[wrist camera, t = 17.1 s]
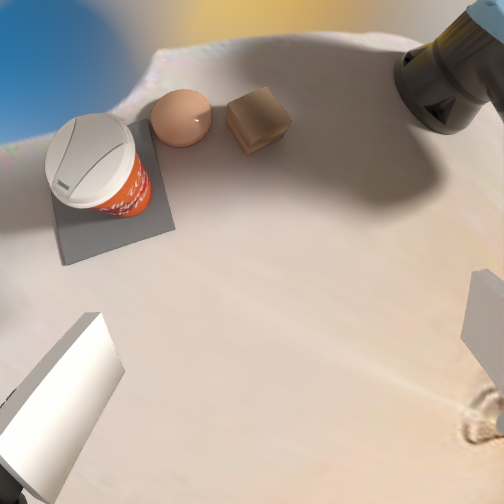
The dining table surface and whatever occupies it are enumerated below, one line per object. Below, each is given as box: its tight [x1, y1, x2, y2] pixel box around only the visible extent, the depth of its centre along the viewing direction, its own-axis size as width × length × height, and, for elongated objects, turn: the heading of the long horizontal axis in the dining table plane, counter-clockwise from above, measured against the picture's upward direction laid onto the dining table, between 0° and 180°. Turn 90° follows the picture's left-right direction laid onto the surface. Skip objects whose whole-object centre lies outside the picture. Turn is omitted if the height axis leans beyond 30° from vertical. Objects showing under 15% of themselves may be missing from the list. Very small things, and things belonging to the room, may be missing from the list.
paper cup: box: [45, 113, 152, 217], centre depth 26 cm, size 8×8×14 cm
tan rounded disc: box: [151, 89, 211, 147], centre depth 34 cm, size 7×7×2 cm
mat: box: [51, 119, 175, 265], centre depth 33 cm, size 14×14×1 cm
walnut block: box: [226, 86, 292, 156], centre depth 34 cm, size 5×5×5 cm
